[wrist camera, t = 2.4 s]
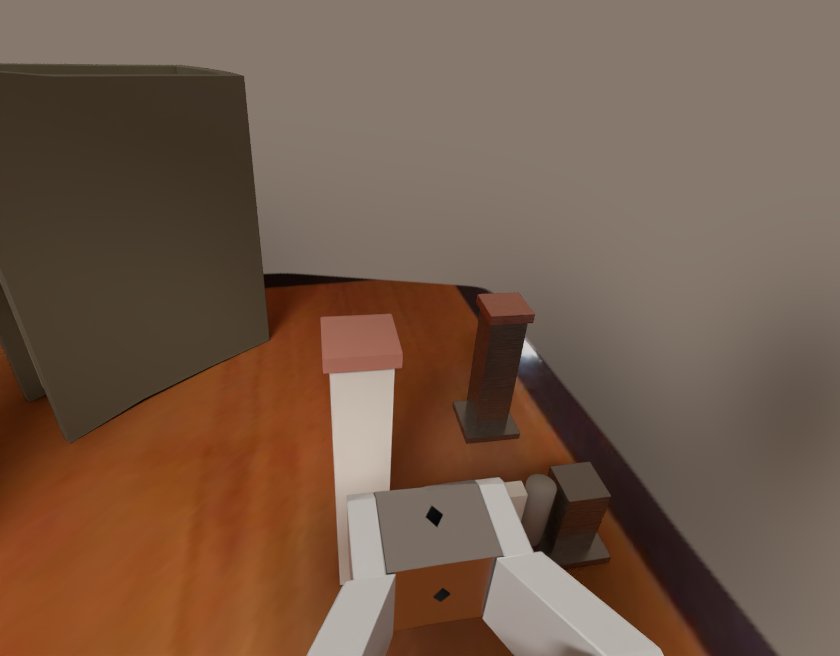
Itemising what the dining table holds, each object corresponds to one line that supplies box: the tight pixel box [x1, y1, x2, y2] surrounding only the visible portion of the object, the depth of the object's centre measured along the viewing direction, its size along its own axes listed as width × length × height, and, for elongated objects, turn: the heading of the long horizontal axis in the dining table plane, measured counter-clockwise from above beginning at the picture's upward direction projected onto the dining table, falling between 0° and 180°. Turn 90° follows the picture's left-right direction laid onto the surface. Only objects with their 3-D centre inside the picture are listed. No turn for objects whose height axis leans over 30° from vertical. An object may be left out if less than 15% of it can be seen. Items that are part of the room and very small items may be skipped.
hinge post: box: [533, 462, 611, 569], centre depth 35 cm, size 5×5×6 cm
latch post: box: [453, 293, 535, 444], centre depth 43 cm, size 5×5×13 cm
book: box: [0, 64, 270, 443], centre depth 44 cm, size 22×9×28 cm, turn 144°
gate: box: [321, 314, 557, 585], centre depth 29 cm, size 15×4×18 cm, turn 101°
